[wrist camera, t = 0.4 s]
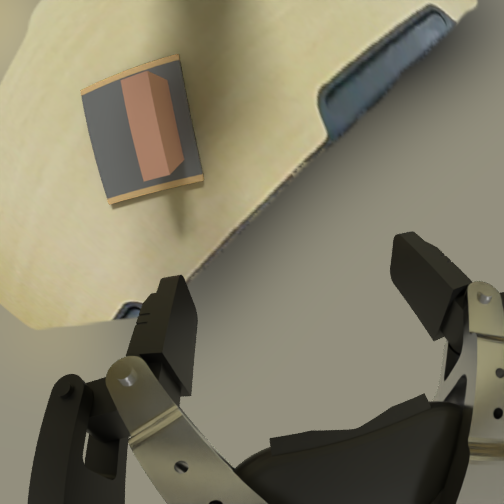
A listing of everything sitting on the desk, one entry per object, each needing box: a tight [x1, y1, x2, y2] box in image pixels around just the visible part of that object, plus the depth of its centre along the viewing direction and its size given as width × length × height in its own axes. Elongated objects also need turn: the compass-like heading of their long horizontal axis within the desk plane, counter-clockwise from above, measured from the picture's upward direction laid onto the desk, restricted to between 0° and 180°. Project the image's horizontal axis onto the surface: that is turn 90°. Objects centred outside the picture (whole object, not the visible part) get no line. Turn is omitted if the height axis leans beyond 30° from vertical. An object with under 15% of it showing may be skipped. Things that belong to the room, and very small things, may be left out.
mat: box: [80, 54, 204, 205], centre depth 28 cm, size 16×13×1 cm
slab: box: [121, 71, 184, 181], centre depth 24 cm, size 10×3×8 cm, turn 9°
